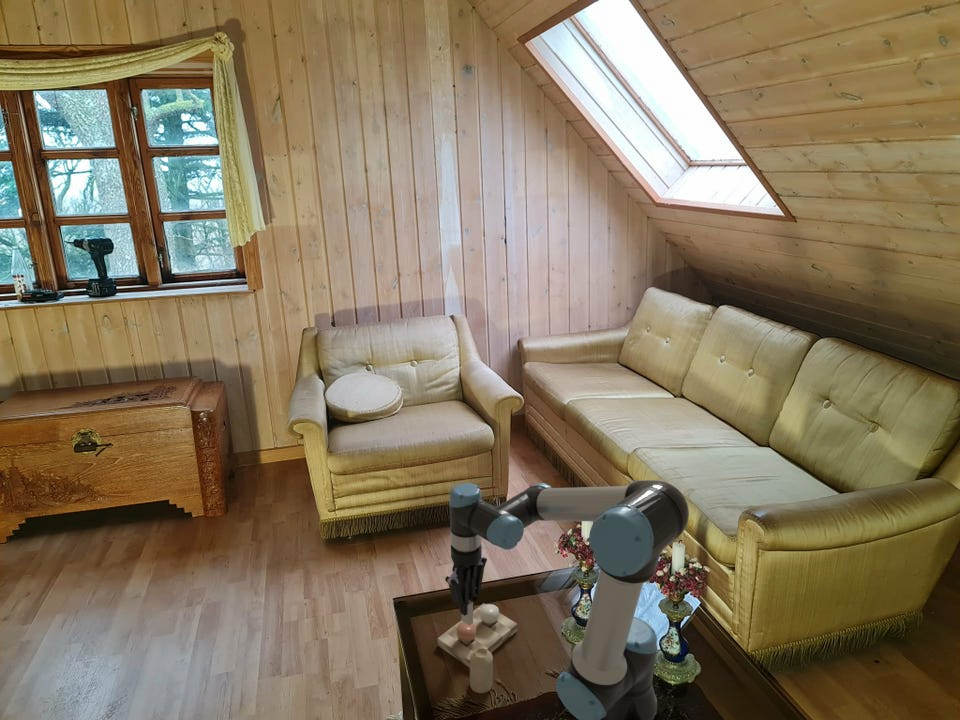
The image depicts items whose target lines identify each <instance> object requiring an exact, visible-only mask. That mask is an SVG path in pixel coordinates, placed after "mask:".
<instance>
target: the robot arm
mask: <svg viewBox="0 0 960 720" xmlns="http://www.w3.org/2000/svg"><path fill="white" fill-rule="evenodd" d="M482 498H483V496H482V491H481V488H480V487H479V486H478V484H477V485H476V484H474V483H471V482H463V483H458V484H457V485H455V486H453V487H452V488H451V489H450V492H449V501H448V506H449V525H450V557H451V561H452V563H453V566H452V573H450V576H449V575H447V576H446V577H445V582H446V583H447V584H448V587H449V591H450V596H451V598H452V601H453V604H455V605H457V606H458V607H459V613H460V614H461V620H462V621H463V622H464V623H466V624H467V625H469V626H470V625H471V624H472V623H473V611H474V610H475V609H474V608H475V603H477V602H478V597H476V596H479V595H480V594H481V590H482V584H483V577H484V571H485V567H486V563H487V561H488V558H487V557H485V556H483V554H482V552H483V550H482V548H483V547H482V546H483V545H482V541H483V540H482V539H484V540H485V541H487V542H488V543H491V545H493V546H496V547H499V548H501V549H503V550H507V551H508V550H509V551H510V550H512V549H515V547H517V546H518V543H519V542H521V540H522V538H523V535H524V532H525V529H526V528H527V527H529V526H530V525H532V524H533V523H535V522H538V521H539V522H540V521H541V522H543V521H544V522H547V521H550V522H551V521H554V522H557V521H560V522H562V521H563V522H564V521H565V522H593V523H592V525H591V527H590V530H589V535H588V536H589V537H588V541H589V549H590V550H592V552H593V553H592V557H593V559H594V561H595V563H596V565H597V567H598V569H599V572H598V577H597V580H596V583H595V584H596V585H595V589H594V592H593V596H592V597H593V598H592V600H591V605H590V610H589V612H588V618H587V622H586V626H585V630H584V634H583V637H582V640H580V641H579V642H577V643H576V645H575V646H574V647H573V650H572V652H571V657H570V660H569V664H568V666H567V668H566V669H565V670H564V671H561V673H560V674H559V675H558V677H557V678H556V680H555V688H556V693H557V696H558V697H559V699H560V700H561V702H562V704H563V706H564V707H565V708H566V709H567V711H568V712H569V713H570V714H571V715H572V716H573V717H575V718H576V719H577V720H601V719H602V720H653V719H654V717H655V715H656V716H657V711H658V710H657V709H658V700H657V699H658V698H657V696H656V694H655V689H654V686H653V678H654V671H655V664H656V655H657V651H658V636H657V634H656V631H655V630H654V628H653V627H652V626H651V625H650V624H649V623H648V622H646V621H645V620H643V619H641V618H639V617H636V616H635V613H636V611H637V606H638V603H639V599H640V597H641V593H642V591H643V590H642V589H643V586H644V584H646V583H647V582H649V581H650V580H651V579H652V578H654V576H655V575H656V574H655V573H656V570H657V567H658V563H659V559H660V557H661V554H662V552H663V551H664V549H665V548H667V547H668V546H669V545H670V544H672V543H673V542H674V541H676V540H677V539H678V538H680V536H681V535H682V534H683V533H684V531H685V530H686V528H687V526H688V523H689V518H690V510H689V506H688V505H689V504H688V502H687V500H686V497H685V496H684V494H683V493H682V492H681V491H680V490H679V489H678V488H677V487H676V486H675V485H672V483H669V482H667V481H663V480H655V479H654V480H653V479H651V480H649V479H648V480H635V481H634V480H633V481H631V482H630V483H629V484H628V485H620V486H616V485H615V486H587V487H581V486H580V487H554V488H553V487H552V486H551V485H549V484H547V483H546V482H545V483H544V482H538V483H536V484H534V485H531V486H529V487H528V488H526V489H524V490H523V491H521V492H520V493H518V494H516V495H515V496H513V497H511V498H509V499H507V500H506V501H504V502H503V503H501V504H499V505H497V506H494V505H493V504H490V503H488V502H487V501H485V500H483V499H482ZM655 718H656V717H655ZM654 720H655V719H654Z"/></svg>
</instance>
